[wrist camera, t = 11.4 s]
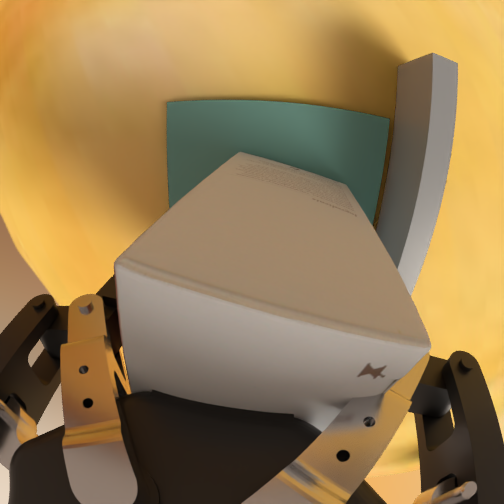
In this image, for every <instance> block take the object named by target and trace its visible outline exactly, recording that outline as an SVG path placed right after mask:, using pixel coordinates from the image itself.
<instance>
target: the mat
mask: <svg viewBox="0 0 504 504" xmlns="http://www.w3.org/2000/svg"><path fill="white" fill-rule="evenodd" d="M389 122H390V119H389V118H384V117H380V116H375V115H371V114H366V113H361V112H355V111H350V110H344V109H338V108H331V107H324V106H317V105H308V104H299V103H289V102H276V101H258V100H195V101H177V102H167V168H168V191H169V208H171V207H172V206H173V205H174V204H176V203H177V202H178V201H179V200H180V199H181V198H183V197H184V196H185V195H186V194H187V193H188V192H190V191H191V190H192V189H193V188H195V187H196V186H197V185H198V184H199V183H201V182H202V181H203V180H204V179H205V178H207V177H208V176H209V175H210V174H211V173H213V172H214V171H215V170H217V169H218V168H219V167H220V166H221V165H223V164H224V163H226V162H227V161H228V160H229V159H230V158H232V157H233V156H235V155H236V154H237V153H238V152H244V153H247V154H251V155H255V156H258V157H262V158H266V159H269V160H273V161H276V162H280V163H283V164H286V165H289V166H293V167H296V168H299V169H302V170H305V171H308V172H311V173H314V174H317V175H320V176H323V177H326V178H329V179H332V180H334V181H337V182H340V183H343V184H346V185H347V186H348V188H349V190H350V191H351V193H352V194H353V196H354V197H355V199H356V201H357V202H358V203H359V205H360V207H361V208H362V210H363V211H364V213H365V215H366V216H367V218H368V220H369V222H370V223H371V224H372V225H373V221H374V216H375V212H376V207H377V202H378V197H379V191H380V186H381V180H382V174H383V168H384V161H385V155H386V147H387V140H388V131H389Z"/></svg>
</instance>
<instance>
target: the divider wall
mask: <svg viewBox="0 0 504 504" xmlns="http://www.w3.org/2000/svg"><path fill="white" fill-rule="evenodd" d="M457 84H458V63H456V62H454V61H451V60H449V59H447V58H444V57H442V56H440V55H437V54H435V53H430V54H428V55H425V56H422V57H420V58H417V59H414V60H412V61H409V62H407V63H404V64H402V65H399V66H398V78H397V96H396V109H395V120H394V129H393V138H392V145H391V153H390V160H389V166H388V172H387V178H386V184H385V189H384V194H383V200H382V205H381V209H380V214H379V219H378V223H377V227H376V233H377V235H378V236H379V238H380V240H381V242H382V244H383V245H384V247H385V249H386V250H387V252H388V254H389V255H390V257H391V259H392V261H393V263H394V265H395V267H396V268H397V270H398V272H399V274H400V276H401V278H402V280H403V282H404V284H405V286H406V288H407V290H408V292H409V294H410V296H411V294H412V292H413V289H414V287H415V284H416V282H417V279H418V276H419V274H420V271H421V268H422V265H423V263H424V260H425V257H426V254H427V251H428V248H429V245H430V241H431V238H432V235H433V232H434V228H435V225H436V221H437V217H438V214H439V210H440V206H441V202H442V197H443V193H444V189H445V184H446V179H447V174H448V169H449V163H450V157H451V151H452V144H453V136H454V128H455V118H456V105H457Z"/></svg>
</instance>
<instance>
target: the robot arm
mask: <svg viewBox="0 0 504 504" xmlns="http://www.w3.org/2000/svg"><path fill="white" fill-rule="evenodd" d="M39 339H40V340H41V342H42V344H43V346H44V347H45V349H44V350H43V352H42V353H41V354H40V356H39V357H38V359H37V360H36V361H35V363H34V364H33V366H32V367H30V365H29V363H28V355H29V353H30V351H31V350H32V349H33V347H34V346H35V345H36V343H37V342H38V341H39ZM121 346H122V341H121V335H120V327H119V318H118V309H117V298H116V286H115V274H114V275H113V277H111V278H110V279H109V280H108V281H107V282H106V284H105V285H104V286H103V287H102V288H101V289H100V290H99V291H98V292H97V293H96V294H86V295H82V296H80V297H78V298H76V299H75V300H74V301H73V302H72V303H71V304H70V306H56V303H55V301H54V298H53V297H52V296H51V295H48V294H42V295H39V296H36V297H34V298H33V299H32V300H30V301H29V302H28V303H27V305H25V307H24V308H23V309H22V310H21V311H20V312H19V313H18V314H17V315H16V316H15V318H14V319H13V320H12V321H11V322H10V323H9V325H8V326H7V327H6V328H5V329H4V330H3V332H2V333H1V334H0V463H1V464H2V465H3V466H5V467H6V468H7V469H8V470H9V473H10V493H9V503H8V504H386V502H385V501H384V500H383V499H382V498H381V497H380V496H379V495H378V494H377V493H376V492H375V491H374V490H373V488H372V487H371V486H370V485H369V484H368V483H367V482H366V481H365V480H364V478H365V477H366V476H367V475H368V473H369V472H370V471H371V469H372V468H373V466H374V465H375V464H376V462H377V461H378V459H379V458H380V456H381V455H382V453H383V452H384V450H385V449H386V447H387V446H388V444H389V443H390V441H391V439H392V438H393V436H394V435H395V433H396V431H397V429H398V428H399V426H400V424H401V423H402V421H403V419H404V417H405V415H406V414H407V412H412V413H414V416H415V423H416V430H417V438H418V448H419V459H420V474H421V494H420V495H419V496H418V497H417V498H416V499H415V501H414V503H413V504H504V443H503V438H502V434H501V430H500V426H499V422H498V419H497V415H496V412H495V408H494V405H493V402H492V399H491V396H490V393H489V390H488V387H487V384H486V382H485V379H484V376H483V374H482V371H481V368H480V366H479V364H478V362H477V360H476V359H475V358H474V357H473V356H472V355H471V354H469V353H467V352H465V351H456V352H454V353H452V355H451V356H450V358H449V359H448V360H445V359H441V358H437V357H433V356H430V355H429V352H428V353H427V354H426V355H425V356H424V357H423V358H422V359H421V360H420V361H419V362H418V363H417V364H416V365H415V366H414V367H413V368H412V369H411V370H410V371H409V372H408V373H407V374H406V375H405V376H404V377H403V378H401V379H400V380H398V381H397V382H396V383H395V384H394V385H393V386H392V387H391V388H390V389H389V390H388V391H387V392H386V393H381V394H378V395H375V396H368V397H355V398H351V400H350V401H349V402H348V403H347V405H346V406H345V407H344V408H343V409H342V411H341V412H340V413H339V414H338V415H337V416H336V418H335V419H334V420H333V421H332V422H331V423H330V424H329V426H328V427H327V428H326V429H325V430H324V431H323V432H322V431H320V430H319V429H318V428H316V427H315V426H313V425H311V424H310V423H308V422H306V421H303V420H301V419H298V418H295V417H294V414H287V413H272V412H262V411H253V410H245V409H238V408H231V407H225V406H219V405H213V404H207V403H202V402H198V401H193V400H189V399H184V398H180V397H176V396H172V395H169V394H166V393H162V392H159V391H156V390H152V392H149V391H147V392H136V393H131V391H130V386H129V382H128V378H127V374H126V370H125V366H124V362H123V357H122V353H121V350H120V348H121ZM60 383H61V392H62V405H63V415H64V425H62V426H60V427H58V428H56V429H54V430H51V431H49V432H47V433H45V434H42V435H40V436H38V435H37V434H36V432H37V427H36V426H37V424H38V422H39V420H40V418H41V416H42V414H43V413H44V411H45V409H46V407H47V405H48V404H49V401H50V400H51V398H52V396H53V394H54V393H55V391H56V389H57V388H58V386H59V384H60ZM451 408H452V412H453V417H454V421H455V428H453V423H452V418H451V413H450V409H451Z"/></svg>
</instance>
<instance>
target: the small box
mask: <svg viewBox="0 0 504 504" xmlns="http://www.w3.org/2000/svg"><path fill="white" fill-rule="evenodd" d="M114 274H115V286H116V298H117V309H118V318H119V327H120V335H121V341H122V347H123V353H124V359H125V364H126V370H127V375H128V380H129V385H130V391H131V393H136V392H147V391H149V392H152V390H156V391H159V392H162V393H166V394H169V395H172V396H176V397H180V398H184V399H189V400H193V401H198V402H202V403H207V404H213V405H219V406H225V407H231V408H238V409H245V410H253V411H262V412H272V413H287V414H294V417H295V418H298V419H301V420H303V421H306V422H308V423H310V424H311V425H313V426H315V427H316V428H318V429H319V430H320V431H322V432H323V431H324V430H325V429H326V428H327V427H328V426H329V424H330V423H331V422H332V421H333V420H334V419H335V418H336V416H337V415H338V414H339V413H340V412H341V411H342V409H343V408H344V407H345V406H346V405H347V403H348V402H349V401H350V400H351V398H355V397H368V396H375V395H378V394H381V393H386V392H387V391H388V390H389V389H390V388H391V387H392V386H393V385H394V384H395V383H396V382H397V381H398V380H400V379H401V378H403V377H404V376H405V375H406V374H407V373H408V372H409V371H410V370H411V369H412V368H413V367H414V366H415V365H416V364H417V363H418V362H419V361H420V360H421V359H422V358H423V357H424V356H425V355H426V354H427V353H428V352H429V350H430V349H431V342H430V339H429V336H428V334H427V331H426V329H425V327H424V324H423V322H422V320H421V318H420V316H419V313H418V311H417V309H416V306H415V304H414V302H413V300H412V298H411V296H410V294H409V292H408V290H407V288H406V286H405V284H404V282H403V280H402V278H401V276H400V274H399V272H398V270H397V268H396V267H395V265H394V263H393V261H392V259H391V257H390V255H389V254H388V252H387V250H386V249H385V247H384V245H383V244H382V242H381V240H380V238H379V236H378V235H377V233H376V231H375V230H374V228H373V226H372V224H371V223H370V222H369V220H368V218H367V216H366V215H365V213H364V211H363V210H362V208H361V207H360V205H359V203H358V202H357V201H356V199H355V197H354V196H353V194H352V193H351V191H350V190H349V188H348V186H347V185H346V184H343V183H340V182H337V181H334V180H332V179H329V178H326V177H323V176H320V175H317V174H314V173H311V172H308V171H305V170H302V169H299V168H296V167H293V166H289V165H286V164H283V163H280V162H276V161H273V160H269V159H266V158H262V157H258V156H255V155H251V154H247V153H244V152H238V153H237V154H236V155H235V156H233V157H232V158H230V159H229V160H228V161H227V162H226V163H224V164H223V165H221V166H220V167H219V168H218V169H217V170H215V171H214V172H213V173H211V174H210V175H209V176H208V177H207V178H205V179H204V180H203V181H202V182H201V183H199V184H198V185H197V186H196V187H195V188H193V189H192V190H191V191H190V192H188V193H187V194H186V195H185V196H184V197H183V198H181V199H180V200H179V201H178V202H177V203H176V204H174V205H173V206H172V207H171V208H170V209H169V210H168V211H167V212H166V213H164V214H163V215H162V216H161V217H160V218H159V219H158V220H157V221H156V222H155V223H154V224H153V225H152V226H151V227H150V228H148V229H147V230H146V231H145V232H144V233H143V234H142V235H141V236H139V237H138V238H137V239H136V240H135V241H134V242H133V243H132V244H131V245H130V246H129V248H127V249H126V250H125V251H124V252H123V253H122V254H121V255H120V256H119V257H118V258H117V259H116V261H115V262H114Z"/></svg>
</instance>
